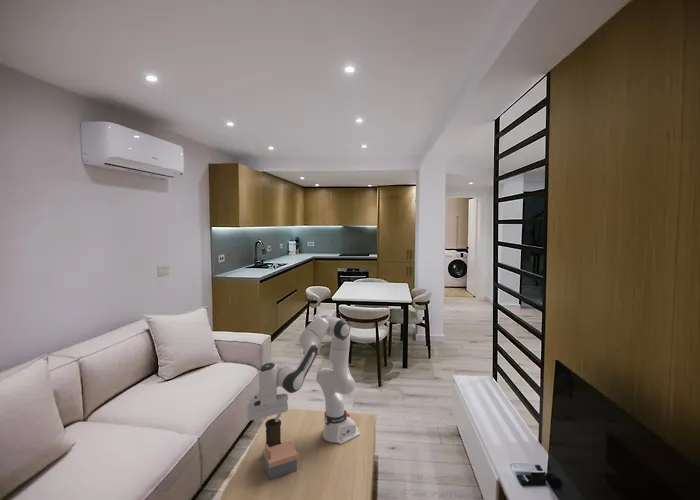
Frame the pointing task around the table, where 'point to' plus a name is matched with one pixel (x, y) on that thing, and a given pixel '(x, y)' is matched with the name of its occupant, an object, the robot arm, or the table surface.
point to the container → (273, 432)
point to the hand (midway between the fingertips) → (267, 423)
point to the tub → (280, 468)
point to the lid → (280, 454)
